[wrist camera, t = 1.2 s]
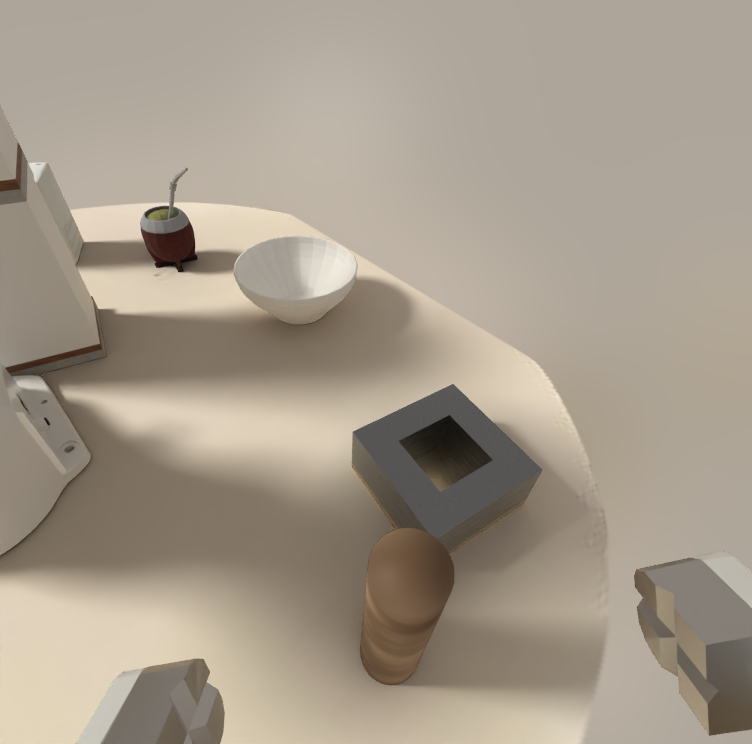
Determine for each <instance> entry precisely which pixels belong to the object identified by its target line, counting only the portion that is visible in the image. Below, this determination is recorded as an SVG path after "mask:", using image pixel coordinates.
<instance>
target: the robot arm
mask: <svg viewBox="0 0 752 744" xmlns="http://www.w3.org/2000/svg"><path fill="white" fill-rule="evenodd" d="M71 450H72V451H71ZM69 451H71V452H69ZM90 459H91V454H90V452H89V451H88V449H87V447H86V446H85V444H84V442H83V441H82V439H81V438H80V436H79V434H78V433H77V431H76V429H75V428H74V426H73V425H72V423H71V421H70V420H69V418H68V416H67V415H66V413H65V412H64V410H63V408H62V407H61V405H60V403H59V402H58V400H57V399H56V397H55V395H54V394H53V392H52V390H51V389H50V387H49V386H48V384H47V383H46V382H45V381H44V380H43V378H42V377H40V376H36V375H22V376H11V375H10V374H9V372H8V371H7V370H6V369H5V367H4V366H3V365H2V364H1V363H0V555H2V554H3V553H5V552H6V551H8V550H9V549H11V548H12V547H13V546H15V545H16V544H17V543H19V542H20V541H21V540H22V539H24V538H25V537H26V536H27V535H28V534H29V533H30V532H32V531H33V530H34V529H35V528H36V527H37V526H38V524H39V523H40V522H41V521H42V520H43V519H44V518H45V516H46V515H47V514H48V513H49V511H50V510H51V508H52V507H53V505H54V504H55V502H56V500H57V499H58V497H59V495H60V494H61V492H62V490H63V489H64V487H65V486H66V485H67V483H68V482H70V481H71V480H72V479H73V478H74V477H75V476H76V475H77V474H78V473H80V472H81V471H82V470H83V469H84V468H85V467H86V465H87V464H88V463H89V461H90ZM634 578H635V587H636V589H637V590H638V592H639V593H640V594H641V595H642V597H643V599H642V601H641V602H640V604H639V605H638V606H637V611H638V618H639V623H640V626H641V629H642V632H643V634H644V638H645V640H646V642H647V644H648V646H649V648H650V649H651V651H652V653H653V655H654V656H655V658H656V659H657V661H658V662H659V664H660V665H661V667H663V668H664V669H666V670H668V671H670V672H671V673H673V674H675V675H676V676H678V680H679V693H680V694H681V696H682V697H683V699H684V700H685V701H686V703H687V704H688V706H689V707H690V709H691V710H692V712H693V713H694V714H695V716H696V717H697V719H698V720H699V722H700V723H701V725H702V726H703V727H704V729H705V730H706V732H707V733H708V735H709V736H710V735H717V734H723V733H729V732H730V733H731V732H737V731H744V730H751V729H752V571H750V570H749V569H748V568H747V567H746V566H744V565H743V564H742V563H741V562H740V561H739V560H737V559H736V558H735V557H734V556H733V555H732V554H730V553H727V552H725V551H720V552H716V553H711V554H706V555H701V556H697V557H694V558H687V559H683V560H678V561H673V562H669V563H664V564H659V565H654V566H650V567H645V568H640V569H637V570H636V572H635V575H634ZM209 674H210V671H209V669H208V667H207V665H206V663H205V661H204V659H191V660H185V661H179V662H174V663H168V664H162V665H156V666H150V667H147V668H142V669H136V670H130V671H124V672H122V673H121V674H120V675H119V676H118V677H116V678H115V679H114V681H113V682H112V684H111V686H110V687H109V689H108V691H107V692H106V694H105V696H104V698H103V699H102V701H101V703H100V704H99V706H98V708H97V709H96V711H95V713H94V714H93V716H92V718H91V719H90V721H89V723H88V724H87V726H86V728H85V729H84V731H83V733H82V734H81V736H80V738H79V740H78V741H77V743H76V744H220V742H221V738H222V735H223V728H224V715H225V712H224V706H223V700H222V697H221V695H220V693H219V691H218V689H216V688H215V687H213V686H212V685H210V684H208V683H207V679H208V676H209Z"/></svg>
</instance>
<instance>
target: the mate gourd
mask: <svg viewBox="0 0 752 744" xmlns="http://www.w3.org/2000/svg"><path fill="white" fill-rule="evenodd" d="M187 170H188V169H187V168H186V169H184V170H183V171H181V172H180V173H178V174H177V175H176V176H175V177H174V179H173V180H172V182H171V183H170V203H169V206H159V207H154V208H151V209H149V210H147V211H146V212H145V213H144V214H143V216H142V219H141V222H140V225H141V233H142V236H143V239H144V241H145V244H146V247H147V249H148V251H149V253H150V254H151V256H152V257H153V258H154V260H155V261H156V263H155V266H156V267H157V268H158V267H163V266H168V265H173V264H174V265H175V266H176V268H177V270H178V272H183V271H184V270H183V267H182V265H181V263H183V262H187V261H192V260H196V259H197V255H195V238H194V231H193V228H192V225H191V223H190V222H189V219H188V217H187V216H186V214H185V213H184V212H183V211H181V210H180V209H178V208H176V207H173V205H174V192H175V191H176V183H177V181H178V179H179V178H180V177H181V176H182V175H183V174H184V173H185V172H186V171H187Z"/></svg>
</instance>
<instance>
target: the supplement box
mask: <svg viewBox="0 0 752 744" xmlns="http://www.w3.org/2000/svg"><path fill="white" fill-rule="evenodd" d="M28 164H29V166H30V168H31V170H32V172H33V174H34V180H35V182H36V184H37V186H38V188H39V190H40V193H41V195H42V197H43V199H44V201H45V203H46V205H47V207H48V209H49V211H50V213H51V215H52V217H53V219H54V222H55V224H56V226H57V228H58V230H59V232H60V234H61V236H62V238H63V240H64V242H65V244H66V246H67V248H68V250H69V253H70V255H71V257H72V259H73V261H74V263H75V264H76V263H77V262H78V258H79V255H80V252H81V248H82V245H83V242H84V240H83V238H82V236H81V234H80V232H79V230H78V227H77V225H76V223H75V221H74V219H73V217H72V214H71V212H70V210H69V208H68V206H67V203H66V201H65V199H64V197H63V195H62V193H61V190H60V188H59V186H58V184H57V182H56V180H55V177H54V175H53V173H52V171H51V169H50V166H49V164H48V163H28Z"/></svg>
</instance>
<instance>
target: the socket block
mask: <svg viewBox="0 0 752 744" xmlns="http://www.w3.org/2000/svg"><path fill="white" fill-rule="evenodd" d="M352 467H353V469H354V470H355V471H356V473H357V474H358V476H359V477H360V478H361V480H362V481H363V483H364V484H365V486H366V487H367V488H368V490H369V491H370V493H371V494H372V496H373V497H374V498H375V500H376V501H377V503H378V504H379V506H380V507H381V508H382V510H383V511H384V513H385V514H386V515H387V517H388V518H389V520H390V521H391V523H392V524H393V525H394V527H395V528H396V529H401V528H415V529H419V530H423V531H425V532H427V533H429V534H431V535H433V536H434V537H435V538H437V539H438V540H439V541H440V542H441V543H442V544H443V546H444V547H445V548H446V550H447V551H448V553H449V554H450V553H451V552H453V551H454V550H455V549H457V548H458V547H460V546H461V545H463V544H464V543H466V542H467V541H469V540H470V539H472V538H473V537H474V536H476V535H477V534H479V533H480V532H482V531H483V530H485V529H486V528H488V527H489V526H491V525H492V524H493V523H495V522H496V521H498V520H499V519H501V518H502V517H504V516H505V515H507V514H508V513H510V512H511V511H512V510H514V509H515V508H517V507H518V506H520V505H521V504H523V503H524V502H525V500H526V498H527V496H528V495H529V493H530V491H531V489H532V488H533V486H534V484H535V482H536V480H537V479H538V477H539V475H540V473H541V472H542V469H541V468H540V467H539V466H538V465H537V464H536V463H535V462H534V461H533V460H532V459H530V458H529V457H528V456H527V455H526V454H525V453H524V452H523V451H522V450H521V449H520V448H519V447H518V446H517V445H516V444H515V443H514V442H513V441H512V440H511V439H510V438H509V437H508V436H507V435H506V434H505V433H503V432H502V431H501V430H500V429H499V428H498V427H497V426H496V425H495V424H494V423H493V422H492V421H491V420H490V419H489V418H488V417H487V416H486V415H485V414H484V413H483V412H482V411H481V410H480V409H479V408H478V407H476V406H475V405H474V404H473V403H472V402H471V401H470V400H469V399H468V398H467V397H466V396H465V395H464V394H463V393H462V392H461V391H460V390H459V389H458V388H457V387H456V386H455V385H454V384H452V385H450V386H448V387H446V388H444V389H442V390H440V391H438V392H435V393H433V394H431V395H429V396H427V397H425V398H423V399H421V400H419V401H417V402H414V403H412V404H410V405H408V406H406V407H404V408H402V409H400V410H398V411H396V412H393V413H391V414H389V415H387V416H385V417H383V418H381V419H379V420H377V421H375V422H372V423H370V424H368V425H366V426H364V427H362V428H360V429H358V430H356V431H354V432H353V444H352Z"/></svg>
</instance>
